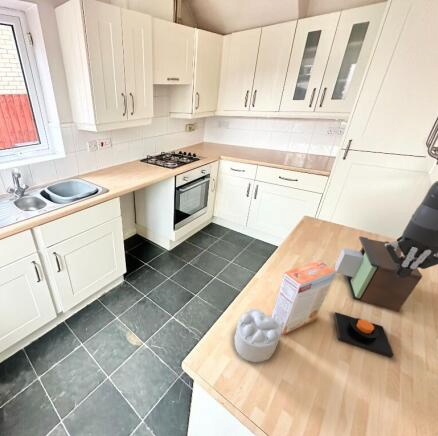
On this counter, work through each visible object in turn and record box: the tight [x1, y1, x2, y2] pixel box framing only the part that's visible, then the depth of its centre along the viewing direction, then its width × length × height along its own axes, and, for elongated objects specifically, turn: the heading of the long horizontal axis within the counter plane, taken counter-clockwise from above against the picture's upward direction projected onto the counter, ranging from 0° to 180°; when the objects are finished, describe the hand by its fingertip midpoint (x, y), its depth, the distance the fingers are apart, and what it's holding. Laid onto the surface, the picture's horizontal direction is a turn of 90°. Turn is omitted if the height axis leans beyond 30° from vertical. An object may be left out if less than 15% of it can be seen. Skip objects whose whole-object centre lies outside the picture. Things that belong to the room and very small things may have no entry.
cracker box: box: [270, 260, 337, 335], centre depth 73 cm, size 14×6×21 cm, turn 111°
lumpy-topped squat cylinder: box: [234, 308, 283, 363], centre depth 69 cm, size 10×13×9 cm
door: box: [334, 247, 377, 298], centre depth 87 cm, size 7×12×14 cm, turn 153°
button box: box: [333, 311, 394, 359], centre depth 72 cm, size 12×10×4 cm
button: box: [356, 318, 374, 334], centre depth 71 cm, size 4×4×2 cm
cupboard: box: [345, 236, 423, 312], centre depth 86 cm, size 12×18×16 cm
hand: (399, 275), depth 68 cm, fingers closed
